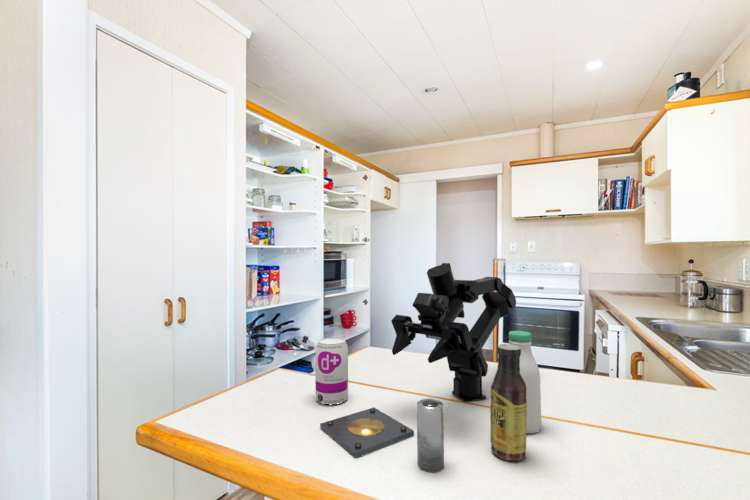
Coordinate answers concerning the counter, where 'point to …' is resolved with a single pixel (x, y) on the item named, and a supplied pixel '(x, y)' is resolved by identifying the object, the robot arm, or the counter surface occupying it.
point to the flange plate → (366, 431)
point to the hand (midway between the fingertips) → (410, 356)
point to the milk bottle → (529, 378)
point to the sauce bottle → (508, 406)
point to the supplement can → (331, 370)
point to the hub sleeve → (430, 435)
